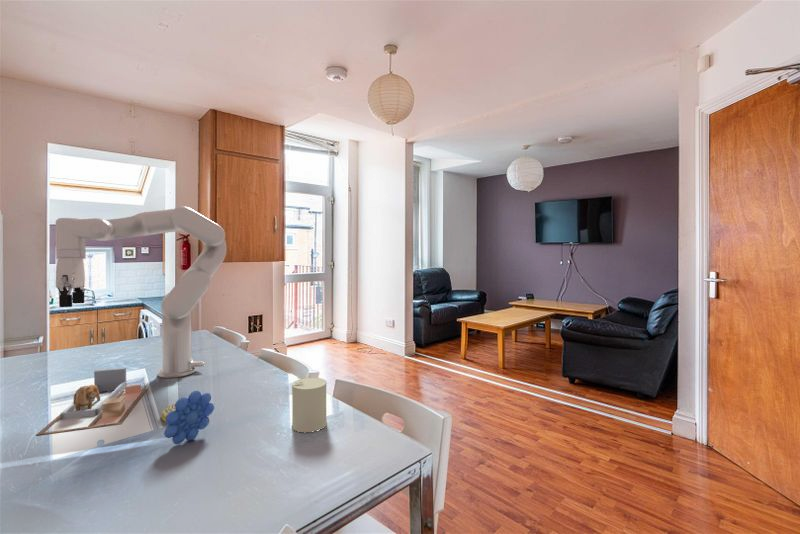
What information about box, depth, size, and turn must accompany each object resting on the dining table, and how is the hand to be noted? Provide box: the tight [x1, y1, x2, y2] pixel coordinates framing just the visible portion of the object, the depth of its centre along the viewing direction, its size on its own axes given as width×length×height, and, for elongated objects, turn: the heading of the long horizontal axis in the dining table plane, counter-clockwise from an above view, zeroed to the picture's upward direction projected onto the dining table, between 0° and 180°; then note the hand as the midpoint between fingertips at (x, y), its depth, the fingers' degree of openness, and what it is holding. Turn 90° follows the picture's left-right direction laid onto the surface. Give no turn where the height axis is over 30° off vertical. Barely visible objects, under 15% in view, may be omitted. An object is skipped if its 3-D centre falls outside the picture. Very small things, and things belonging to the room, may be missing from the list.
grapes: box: [163, 390, 215, 445], centre depth 93 cm, size 12×7×12 cm, turn 143°
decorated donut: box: [160, 403, 176, 423], centre depth 105 cm, size 10×11×4 cm
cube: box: [102, 396, 126, 418], centre depth 105 cm, size 4×4×4 cm
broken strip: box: [95, 383, 143, 426], centre depth 111 cm, size 5×26×3 cm, turn 21°
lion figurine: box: [73, 384, 101, 411], centre depth 110 cm, size 15×5×9 cm, turn 34°
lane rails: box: [35, 387, 149, 436], centre depth 109 cm, size 18×28×1 cm, turn 22°
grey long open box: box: [59, 367, 127, 420], centre depth 115 cm, size 8×26×7 cm, turn 22°
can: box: [291, 377, 328, 434], centre depth 101 cm, size 9×9×12 cm
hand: (72, 305), depth 128 cm, fingers open, 9 cm apart
